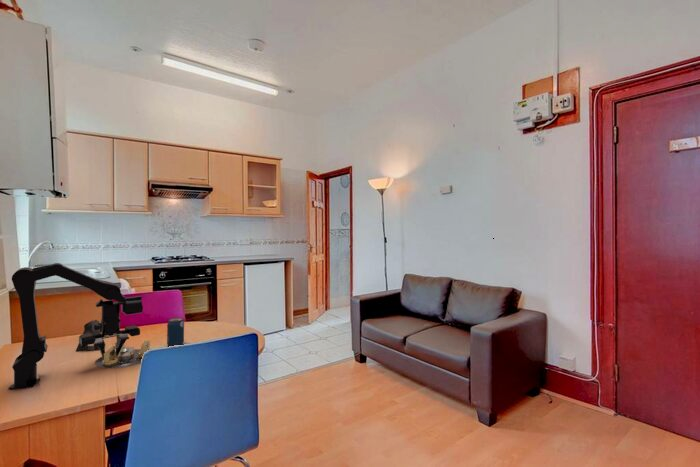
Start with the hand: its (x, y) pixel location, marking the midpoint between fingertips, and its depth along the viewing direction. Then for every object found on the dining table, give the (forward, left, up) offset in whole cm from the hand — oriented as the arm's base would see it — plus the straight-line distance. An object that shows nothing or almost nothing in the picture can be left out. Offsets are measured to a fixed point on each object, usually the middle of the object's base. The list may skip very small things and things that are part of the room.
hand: (110, 357), depth 134 cm
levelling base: (+6, -3, -4) cm, 8 cm away
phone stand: (+26, +15, -5) cm, 30 cm away
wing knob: (0, 0, -3) cm, 3 cm away
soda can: (+22, -19, -5) cm, 30 cm away
